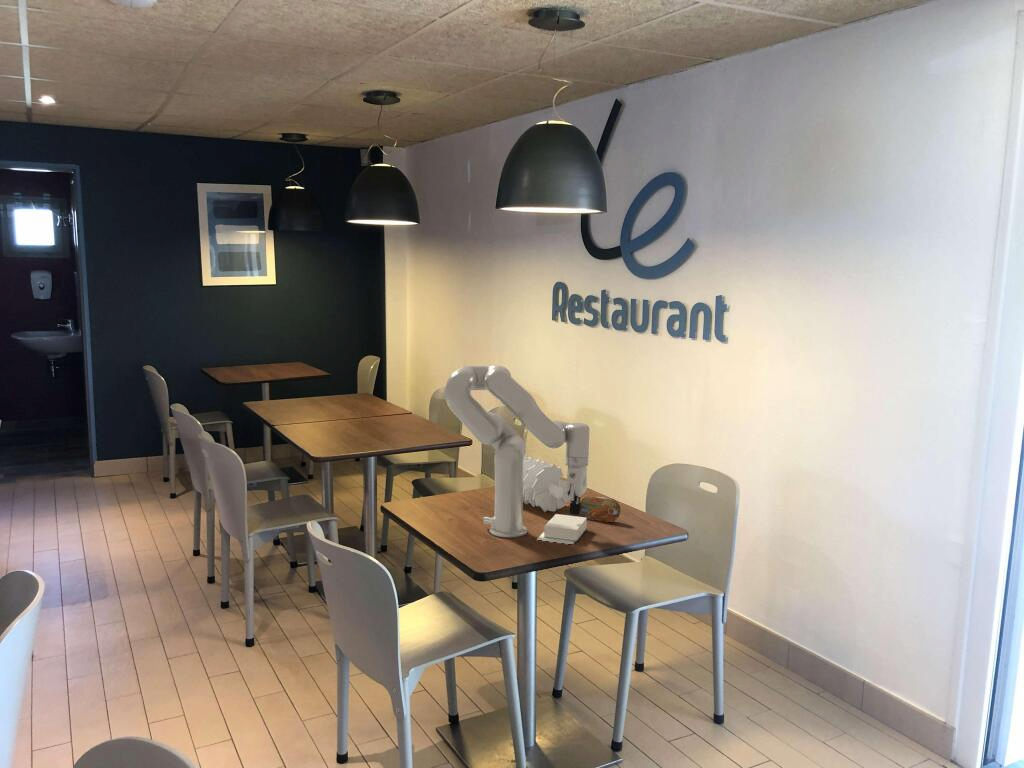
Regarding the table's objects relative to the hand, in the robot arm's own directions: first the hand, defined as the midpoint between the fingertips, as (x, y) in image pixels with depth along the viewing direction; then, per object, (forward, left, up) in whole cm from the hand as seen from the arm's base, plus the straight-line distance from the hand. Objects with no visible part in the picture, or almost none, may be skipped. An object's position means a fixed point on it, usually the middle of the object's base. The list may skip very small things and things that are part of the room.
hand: (574, 514), depth 270 cm
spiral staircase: (-22, +28, -8) cm, 36 cm away
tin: (+4, +20, -8) cm, 22 cm away
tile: (+3, 0, -5) cm, 6 cm away
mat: (-4, 0, -7) cm, 9 cm away
